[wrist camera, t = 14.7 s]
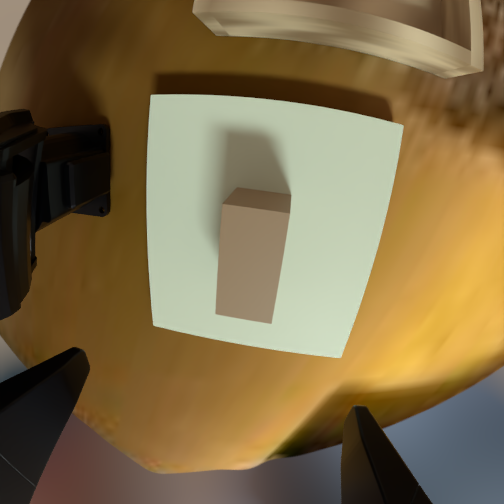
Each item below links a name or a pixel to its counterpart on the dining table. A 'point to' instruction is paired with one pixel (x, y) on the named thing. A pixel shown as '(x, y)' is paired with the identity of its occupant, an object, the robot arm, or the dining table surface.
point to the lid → (264, 218)
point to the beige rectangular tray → (363, 28)
